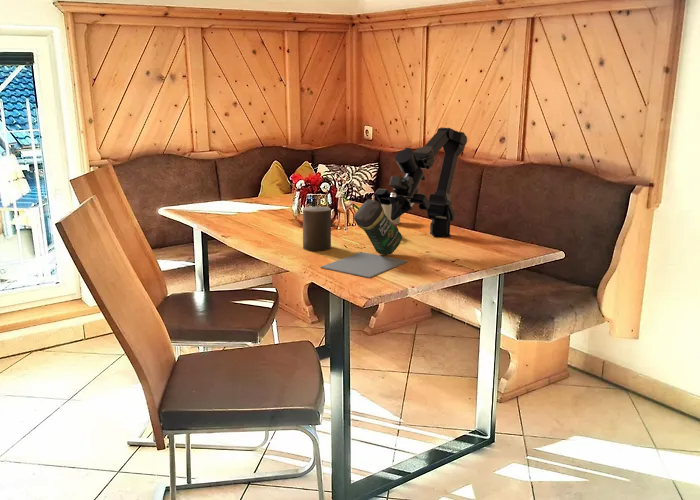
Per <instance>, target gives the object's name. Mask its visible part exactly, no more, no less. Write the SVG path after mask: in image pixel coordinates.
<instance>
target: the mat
mask: <svg viewBox="0 0 700 500" xmlns="http://www.w3.org/2000/svg"><path fill="white" fill-rule="evenodd" d="M408 261H409V260H406V259H400V258H395V257H390V256H387V255H381V254H374V253H369V252H363V251H359V252H357V253H355V254H352V255H349V256H346V257H343V258H341V259H338V260H335V261H332V262H330V263H327V264H325V265H321V266H320V269H324V270H327V271H333V272H338V273H342V274H343V273H344V274H347V275H351V276H352V275H353V276H356V277H362V278H365V279H370V278H374V277H376V276H378V275H380V274H383V273H385V272H387V271H390V270H392V269H395V268H396V267H399V266H402V265H403V264H406V263H408Z"/></svg>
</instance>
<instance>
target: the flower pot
mask: <svg viewBox="0 0 700 500" xmlns="http://www.w3.org/2000/svg"><path fill="white" fill-rule="evenodd" d="M381 206H382V207H383V209H384V213H385V215H386V217H387V218H388V219H389V220H390V221H391V222H393V223H395V225H396V226H397V225H399V224H400V222H401V221H400V220H401V216H399V217H398V218H397V219H395V220H391V209H392V204H390V205H384V204H381Z"/></svg>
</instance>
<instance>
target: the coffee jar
mask: <svg viewBox="0 0 700 500" xmlns="http://www.w3.org/2000/svg"><path fill="white" fill-rule="evenodd" d="M353 220H354V221H355V224H356V225H357V226H358V228H360V229H362V231H364V233H365V234H366V236H367V238H368V239H369V241H370V243H371V244H372V246H373V248H374V250H375V252H376V253H378V255H380V256H389V255H391V254H393V253H394V252H395V251H396V250H397V249H398V247H399V246H400V244H401V242H402V240H403V235H402V233H401V232H400V231H398V230H399V229H398V230H397V229H396V227H395V226H394V225H393V224H392V223H391V222H390V221H389V219H388V218H387V217H386V215H385V213H384V209H383V207H382V204H381V203H380V202H379V201H378V200H374V199H370V198H368V199H367V200H366V201H364V202H363V203H362V205H361V206H360V207H359V208H358V209H357V211H356V213H354V216H353Z"/></svg>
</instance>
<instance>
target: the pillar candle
mask: <svg viewBox="0 0 700 500" xmlns="http://www.w3.org/2000/svg"><path fill="white" fill-rule="evenodd" d="M315 205H316V206H306V207H303V209H302V246H303V247H302V248H303V249H305V250H306V251H311V252H312V251H313V252H318V251H320V252H321V251H323V252H325V251H328V250H330V249H331V248H332V208H330V207H327V206H326V207H325V206H318V204H315Z"/></svg>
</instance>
